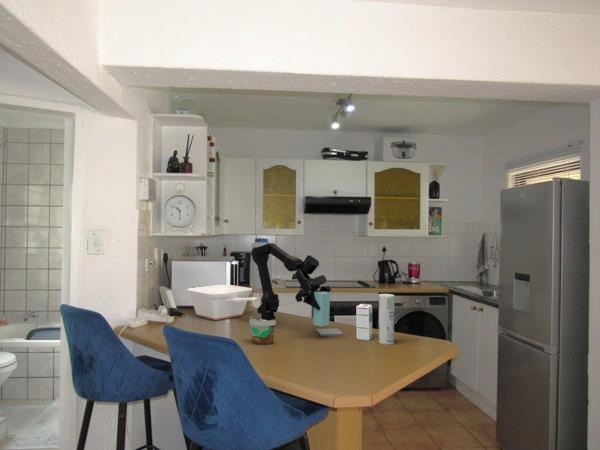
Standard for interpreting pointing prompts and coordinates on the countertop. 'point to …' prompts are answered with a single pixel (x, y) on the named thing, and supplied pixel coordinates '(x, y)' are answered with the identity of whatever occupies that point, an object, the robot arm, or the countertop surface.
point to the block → (321, 309)
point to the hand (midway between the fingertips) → (323, 308)
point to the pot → (220, 301)
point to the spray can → (386, 318)
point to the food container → (262, 331)
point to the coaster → (329, 332)
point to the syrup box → (364, 321)
